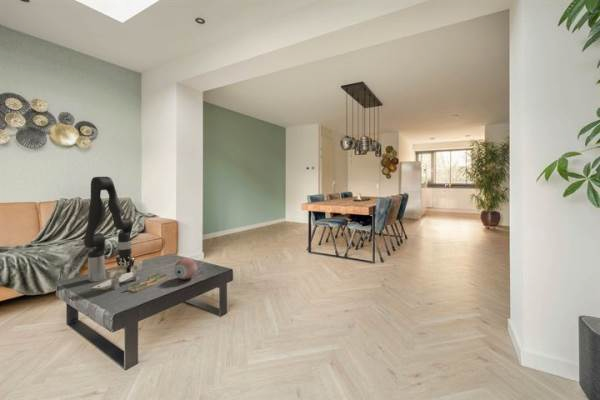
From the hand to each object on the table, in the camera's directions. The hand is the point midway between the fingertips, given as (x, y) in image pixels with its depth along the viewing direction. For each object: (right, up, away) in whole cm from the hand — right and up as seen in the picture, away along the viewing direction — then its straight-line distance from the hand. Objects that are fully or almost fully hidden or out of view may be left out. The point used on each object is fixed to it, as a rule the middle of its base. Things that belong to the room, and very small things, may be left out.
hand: (125, 272), depth 179 cm
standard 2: (+2, -8, +8) cm, 12 cm away
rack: (+15, -8, +1) cm, 17 cm away
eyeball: (+37, -8, +11) cm, 39 cm away
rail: (0, 0, 0) cm, 0 cm away
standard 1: (-2, -9, -7) cm, 12 cm away
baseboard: (-10, -9, +7) cm, 15 cm away
